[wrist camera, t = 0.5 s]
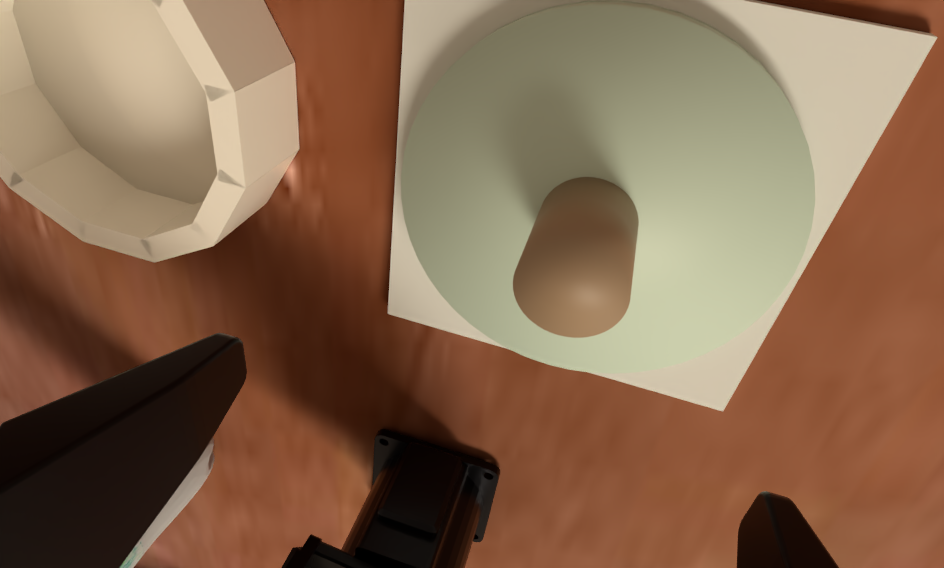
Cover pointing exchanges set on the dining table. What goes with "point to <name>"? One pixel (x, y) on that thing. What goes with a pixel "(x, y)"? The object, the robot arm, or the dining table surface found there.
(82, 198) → the bowl
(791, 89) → the mat
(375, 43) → the dining table surface
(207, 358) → the robot arm
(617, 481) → the dining table surface
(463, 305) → the lid
